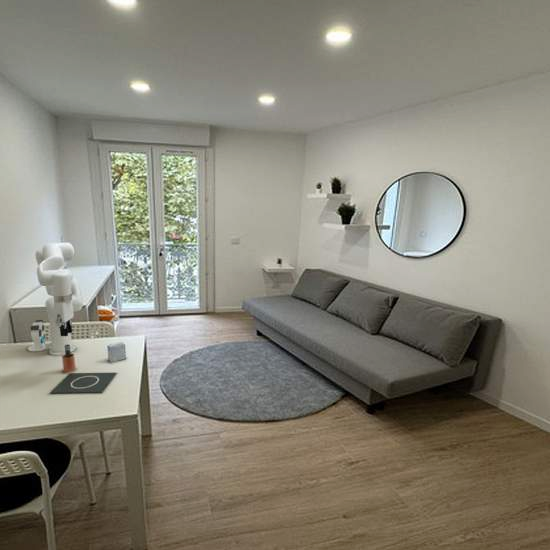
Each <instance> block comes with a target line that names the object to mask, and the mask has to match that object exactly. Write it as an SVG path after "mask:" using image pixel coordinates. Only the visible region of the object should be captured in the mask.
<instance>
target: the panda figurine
mask: <svg viewBox="0 0 550 550" xmlns="http://www.w3.org/2000/svg"><path fill="white" fill-rule="evenodd" d="M30 336H31V339H32V341H33V344H32V345H30V346H28V347H27V351H29V352H40V351H45V350H47V349H49V348H45V344H51V343H50V342H45V338H46V334H45V325H44V319H35V320H34V322H33V323H32V324H31V325H30Z"/></svg>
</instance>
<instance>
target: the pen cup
mask: <svg viewBox="0 0 550 550" xmlns="http://www.w3.org/2000/svg"><path fill="white" fill-rule="evenodd" d="M61 359H62V360H61V361H62V369H63V372H64V373H72V372H75V370H76V359H75V354H74V353H71V357H68V358H66V355H65V354H62V356H61Z"/></svg>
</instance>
